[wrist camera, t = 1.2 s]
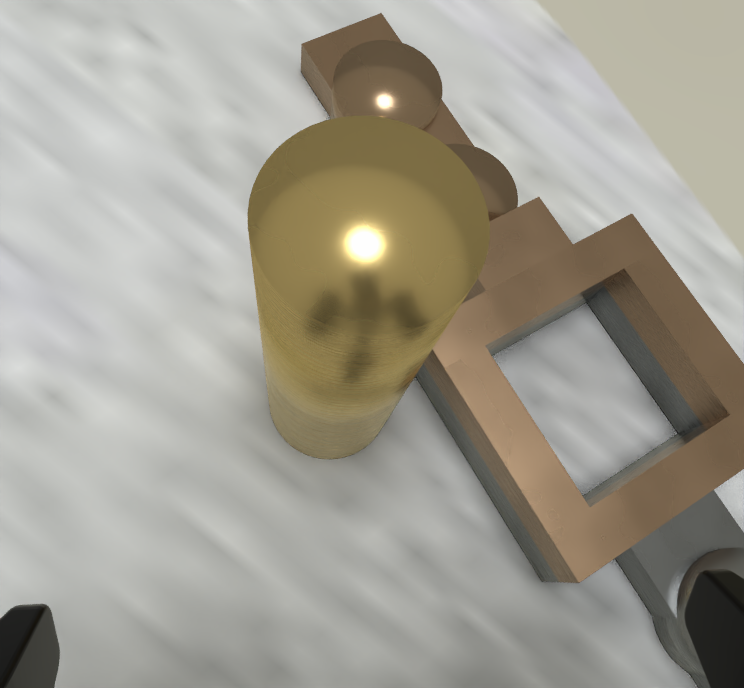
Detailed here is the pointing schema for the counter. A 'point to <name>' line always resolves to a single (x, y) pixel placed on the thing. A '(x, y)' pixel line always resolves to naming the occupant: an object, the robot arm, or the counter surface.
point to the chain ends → (537, 309)
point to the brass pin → (357, 272)
